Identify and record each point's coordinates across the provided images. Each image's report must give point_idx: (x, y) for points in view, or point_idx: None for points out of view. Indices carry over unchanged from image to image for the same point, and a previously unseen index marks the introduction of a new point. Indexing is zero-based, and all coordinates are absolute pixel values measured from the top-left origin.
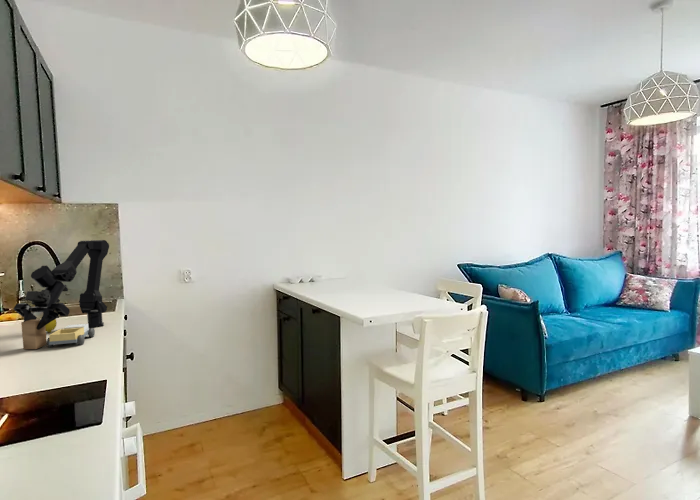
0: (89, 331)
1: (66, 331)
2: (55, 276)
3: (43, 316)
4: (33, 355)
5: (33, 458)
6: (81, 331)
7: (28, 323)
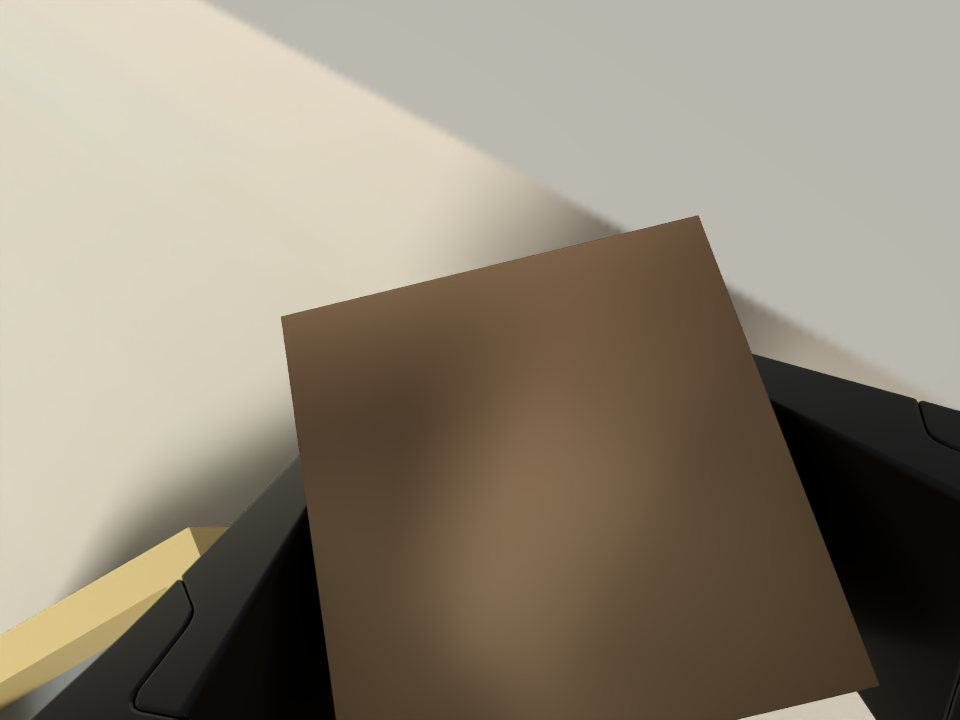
0: None
1: None
2: None
3: (141, 676)
4: (257, 281)
5: None
6: None
7: (467, 285)
